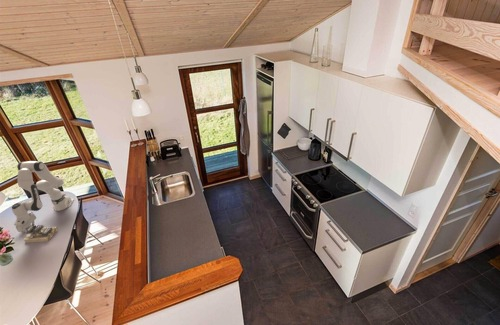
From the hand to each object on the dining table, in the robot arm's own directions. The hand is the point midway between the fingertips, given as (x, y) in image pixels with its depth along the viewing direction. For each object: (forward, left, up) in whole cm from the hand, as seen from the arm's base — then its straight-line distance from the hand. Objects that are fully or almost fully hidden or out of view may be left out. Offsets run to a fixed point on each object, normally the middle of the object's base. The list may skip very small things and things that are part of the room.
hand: (30, 228), depth 246 cm
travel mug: (-14, -17, -11) cm, 25 cm away
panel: (0, +7, -11) cm, 13 cm away
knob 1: (0, 0, -7) cm, 7 cm away
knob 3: (0, +14, -11) cm, 18 cm away
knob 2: (0, +7, -7) cm, 10 cm away
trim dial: (+6, +3, -7) cm, 10 cm away
